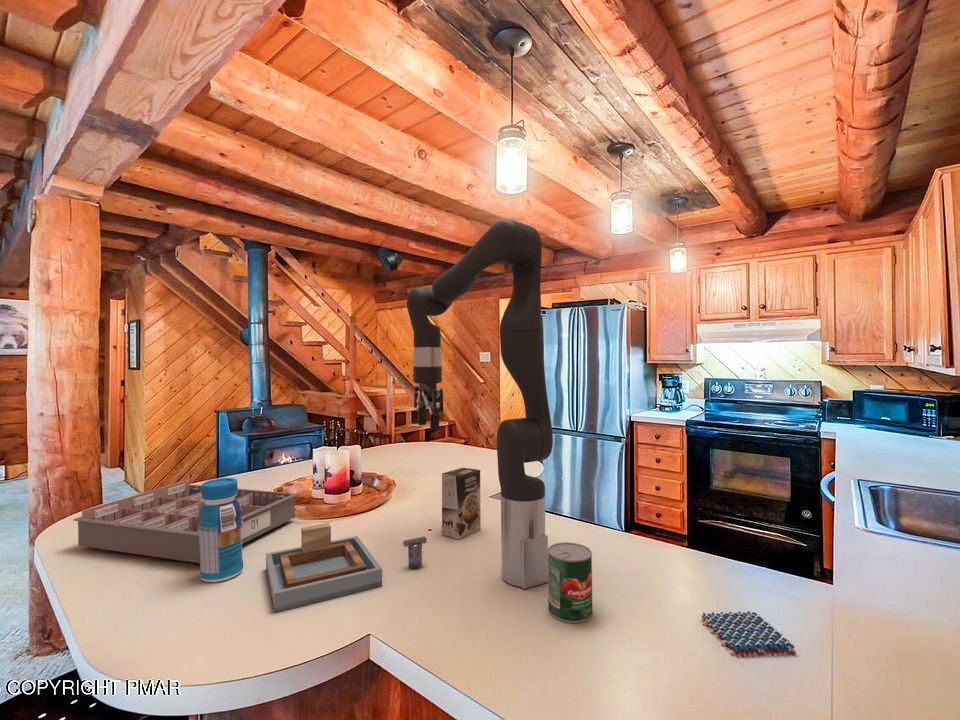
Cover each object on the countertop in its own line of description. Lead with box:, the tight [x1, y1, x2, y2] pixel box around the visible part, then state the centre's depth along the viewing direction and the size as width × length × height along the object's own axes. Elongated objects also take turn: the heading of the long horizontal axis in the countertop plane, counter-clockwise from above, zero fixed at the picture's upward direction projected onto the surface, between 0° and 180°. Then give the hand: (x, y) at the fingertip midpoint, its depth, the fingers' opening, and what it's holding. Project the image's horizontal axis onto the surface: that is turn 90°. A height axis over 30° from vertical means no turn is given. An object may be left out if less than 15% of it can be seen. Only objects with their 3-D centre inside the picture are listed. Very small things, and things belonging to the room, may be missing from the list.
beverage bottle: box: [198, 477, 244, 583], centre depth 99 cm, size 8×8×20 cm
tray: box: [265, 535, 383, 614], centre depth 98 cm, size 20×20×4 cm
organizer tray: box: [72, 479, 299, 564], centre depth 122 cm, size 32×40×10 cm
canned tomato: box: [547, 541, 594, 624], centre depth 84 cm, size 8×8×11 cm
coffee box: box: [441, 467, 482, 540], centre depth 123 cm, size 9×6×16 cm
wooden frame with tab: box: [280, 522, 367, 589], centre depth 98 cm, size 15×15×8 cm
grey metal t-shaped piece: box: [402, 536, 428, 570], centre depth 103 cm, size 3×5×6 cm, turn 119°
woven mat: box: [699, 610, 797, 657], centre depth 76 cm, size 10×11×2 cm
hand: (428, 426), depth 121 cm, fingers open, 8 cm apart
